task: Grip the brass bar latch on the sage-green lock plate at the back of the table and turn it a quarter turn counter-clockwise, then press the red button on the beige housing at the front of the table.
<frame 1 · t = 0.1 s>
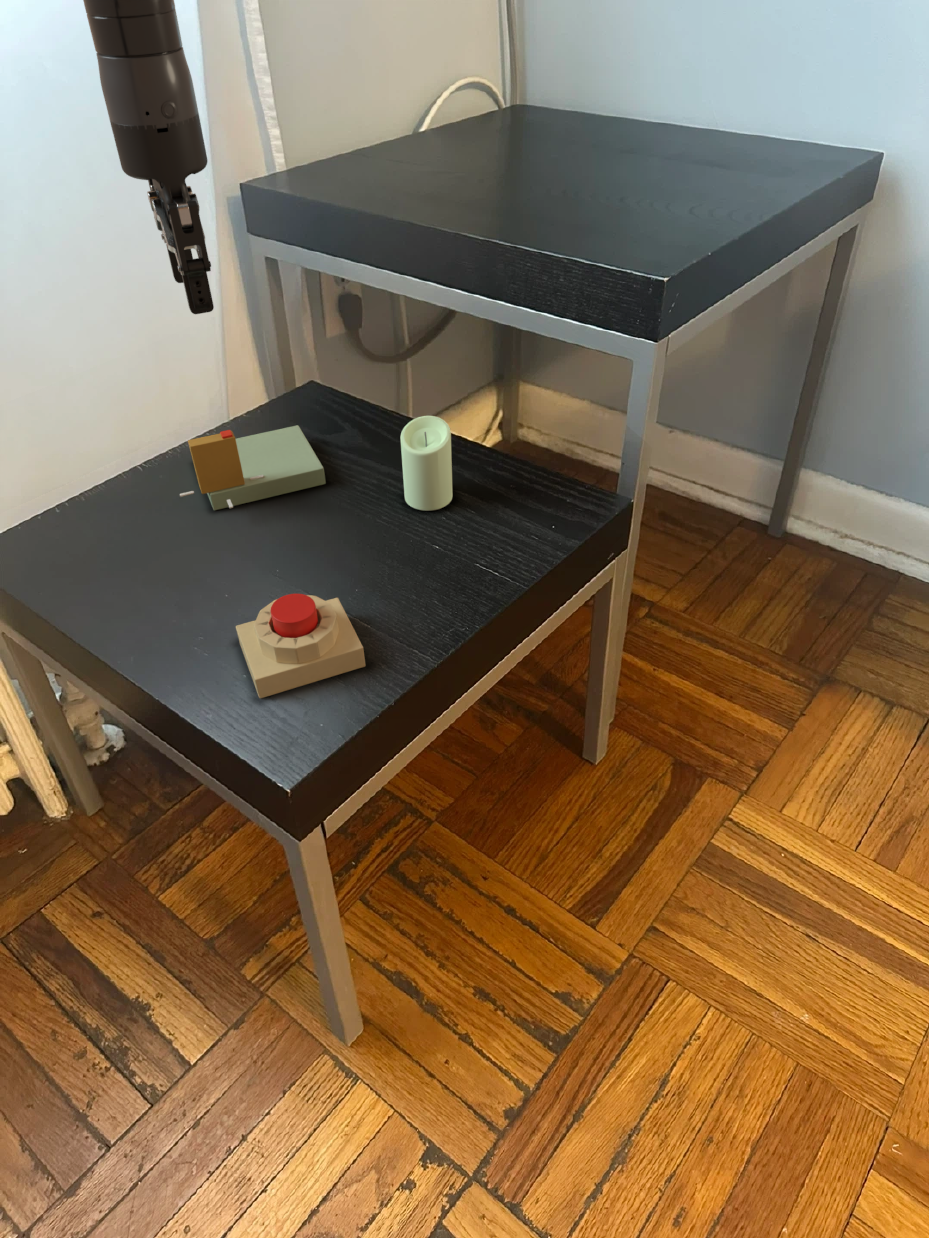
hand: (194, 296, 87), 18 cm above the table, tool pointing down, fingers open, 8 cm apart
lock plate: (259, 473, 96), on the table
button: (294, 615, 71), point 4 cm above the table, slide at 0.1 cm
button box: (302, 655, 74), on the table
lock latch: (216, 461, 88), point 5 cm above the table, hinge at 0.0°
candle: (428, 499, 92), on the table
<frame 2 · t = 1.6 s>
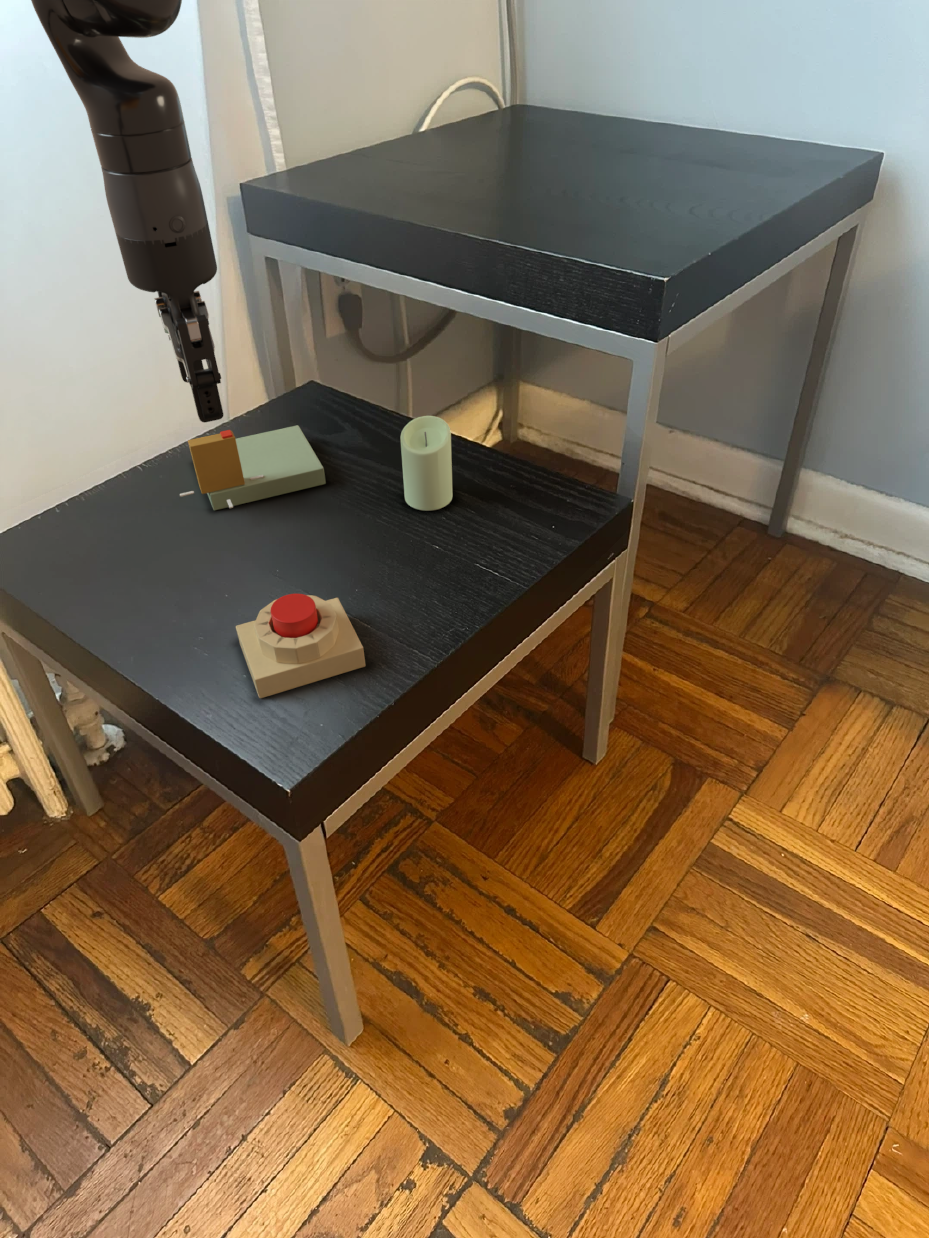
hand: (202, 399, 84), 12 cm above the table, tool pointing down, fingers open, 8 cm apart
nothing on the table moved.
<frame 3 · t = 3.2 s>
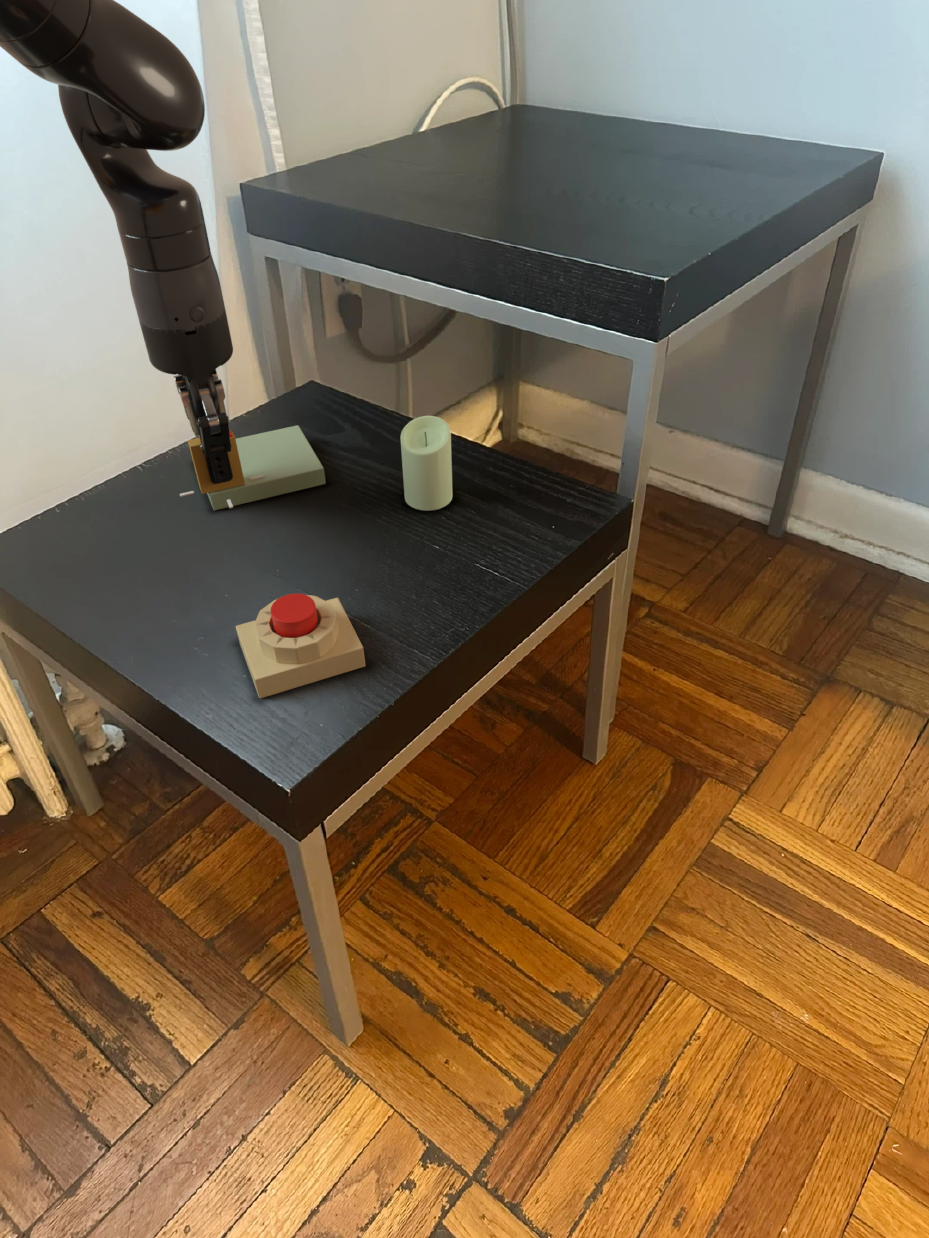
hand: (220, 475, 89), 3 cm above the table, tool pointing down, fingers closed
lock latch: (216, 461, 88), point 5 cm above the table, hinge at 0.0°, touching gripper
everything else where it was.
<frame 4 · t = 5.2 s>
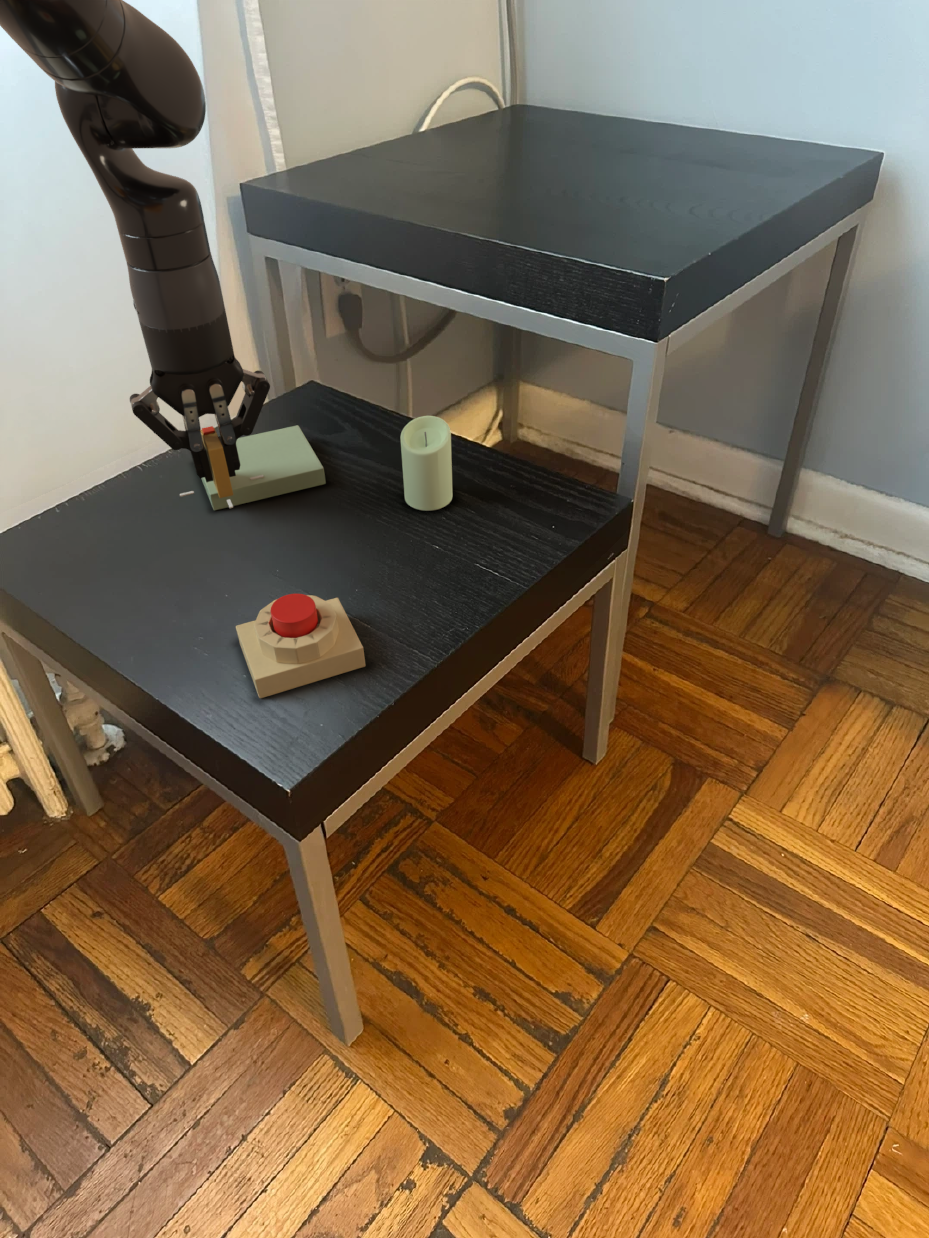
hand: (219, 474, 89), 3 cm above the table, tool pointing down, fingers closed
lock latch: (216, 461, 88), point 5 cm above the table, hinge at 89.2°
everything else where it was.
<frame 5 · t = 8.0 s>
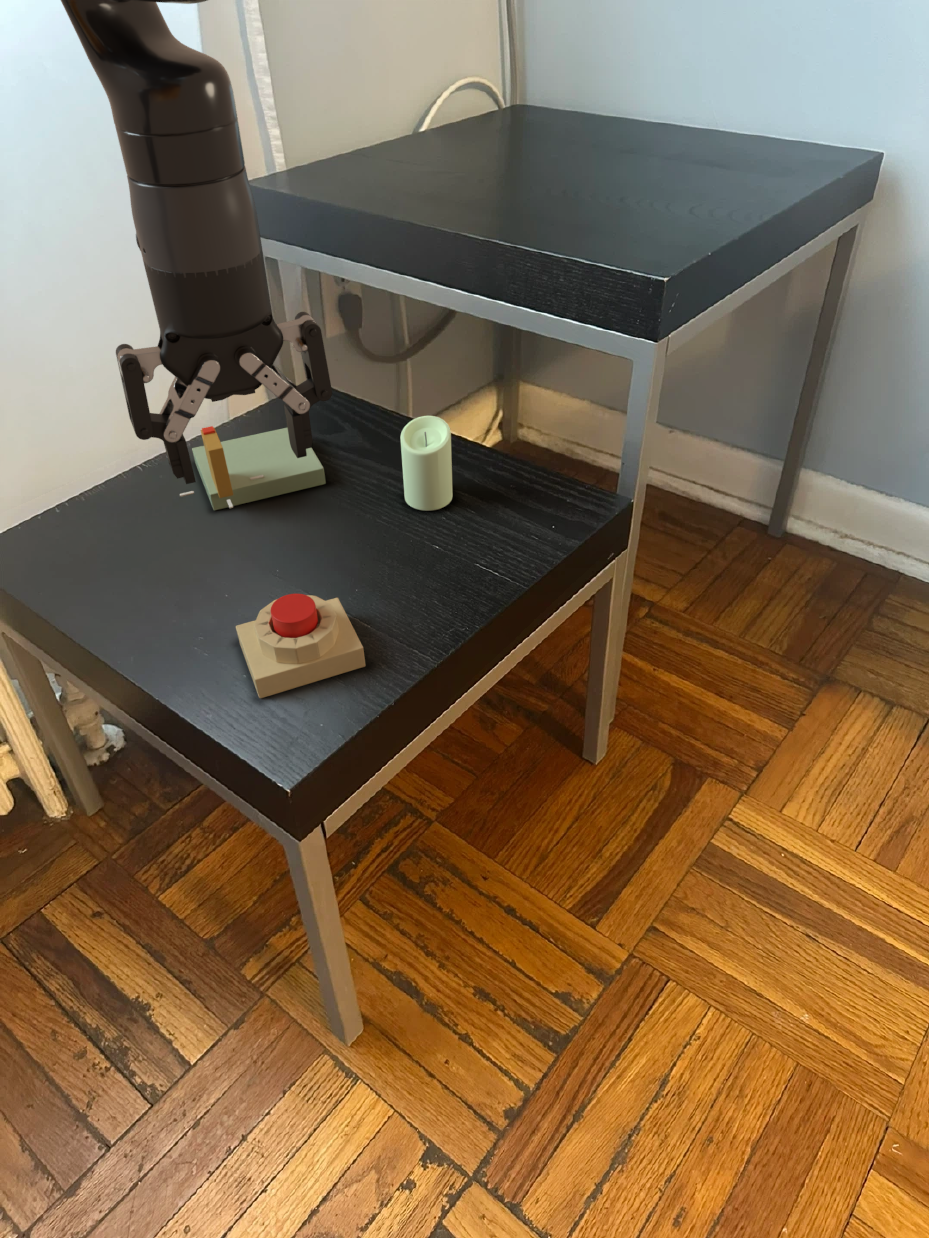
hand: (245, 465, 67), 16 cm above the table, tool pointing down, fingers open, 8 cm apart
nothing on the table moved.
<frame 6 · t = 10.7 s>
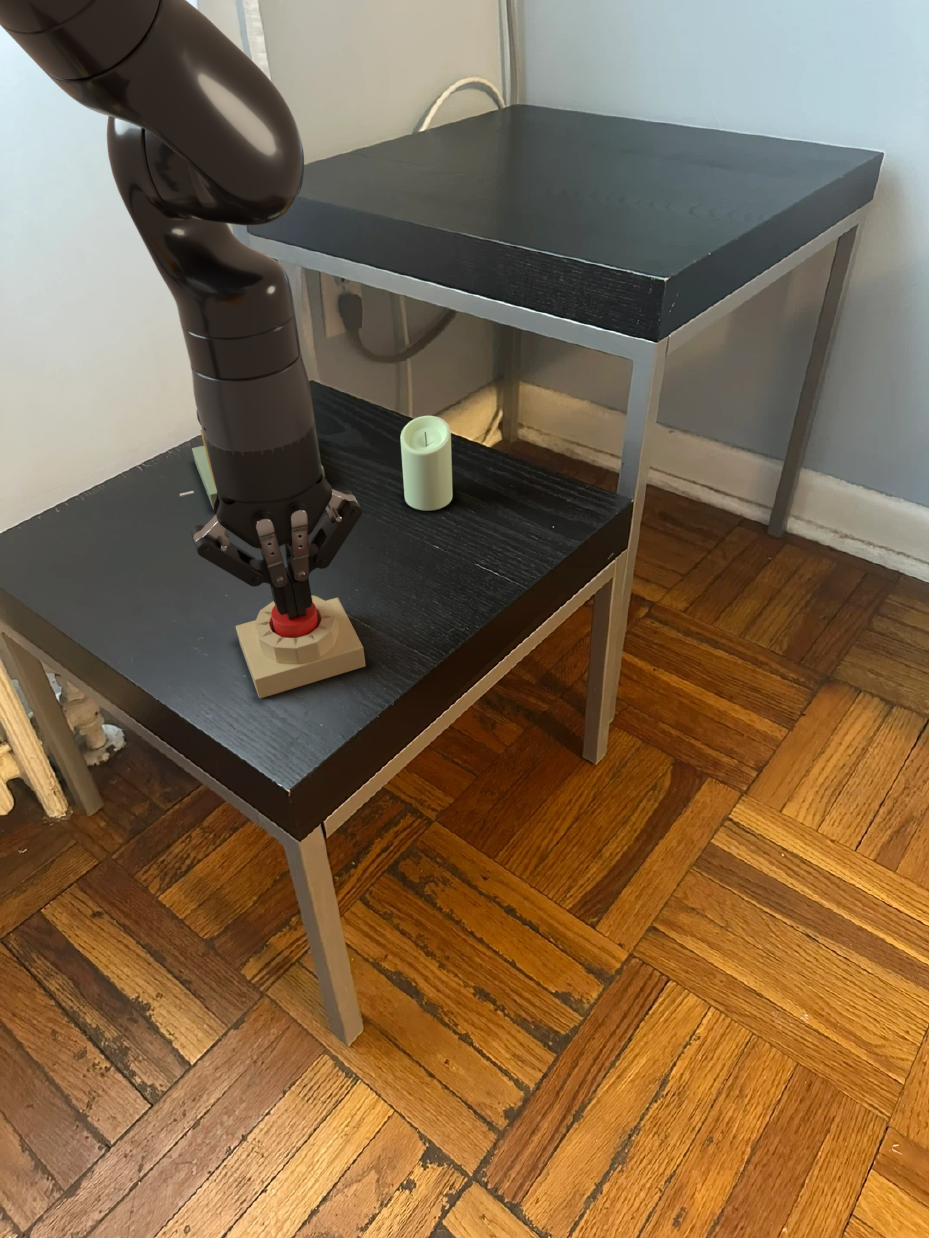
hand: (295, 611, 71), 5 cm above the table, tool pointing down, fingers closed
button: (295, 618, 72), point 4 cm above the table, slide at -0.2 cm, touching gripper
everything else where it was.
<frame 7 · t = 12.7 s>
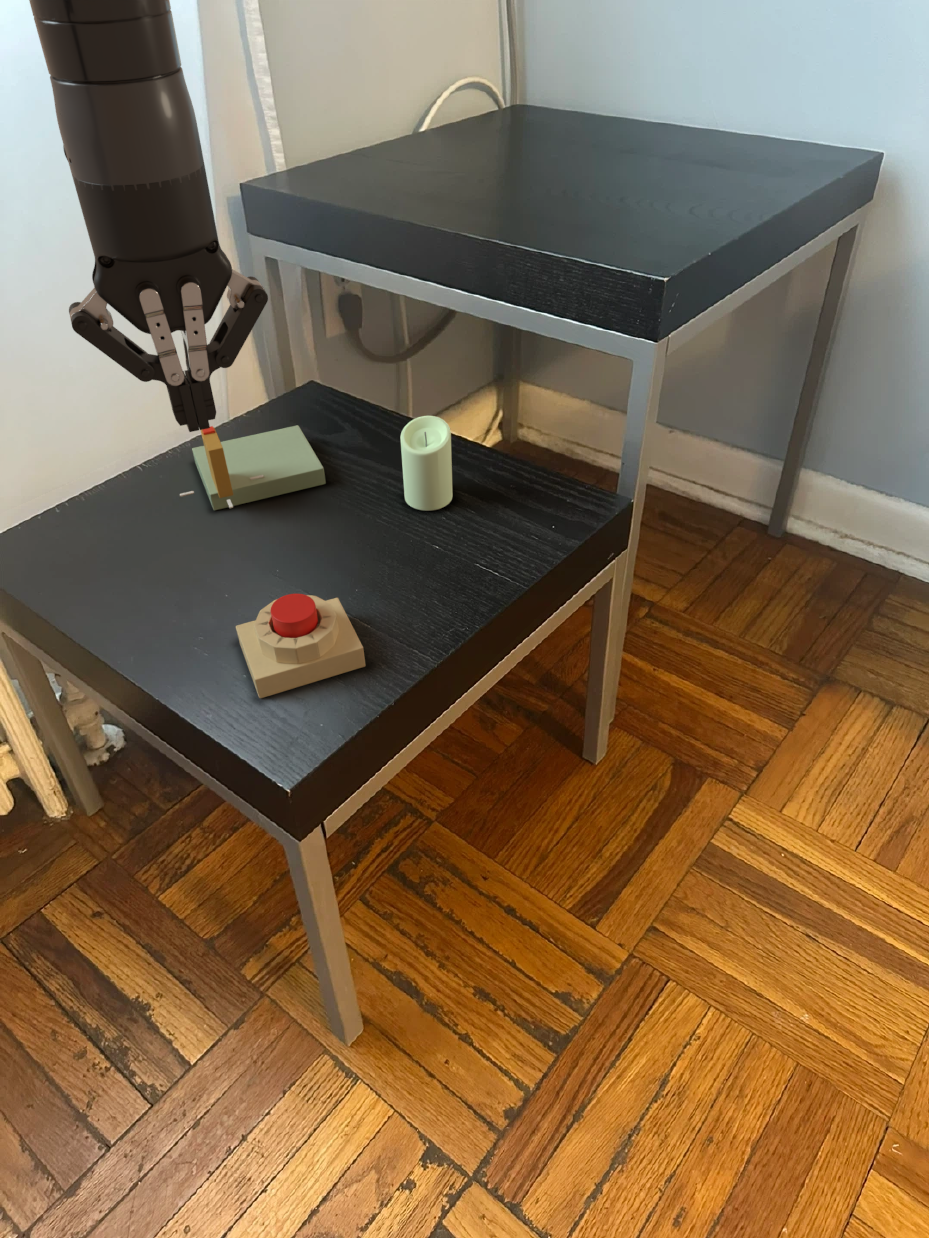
hand: (198, 425, 63), 20 cm above the table, tool pointing down, fingers closed
button: (294, 615, 71), point 4 cm above the table, slide at 0.1 cm
everything else where it was.
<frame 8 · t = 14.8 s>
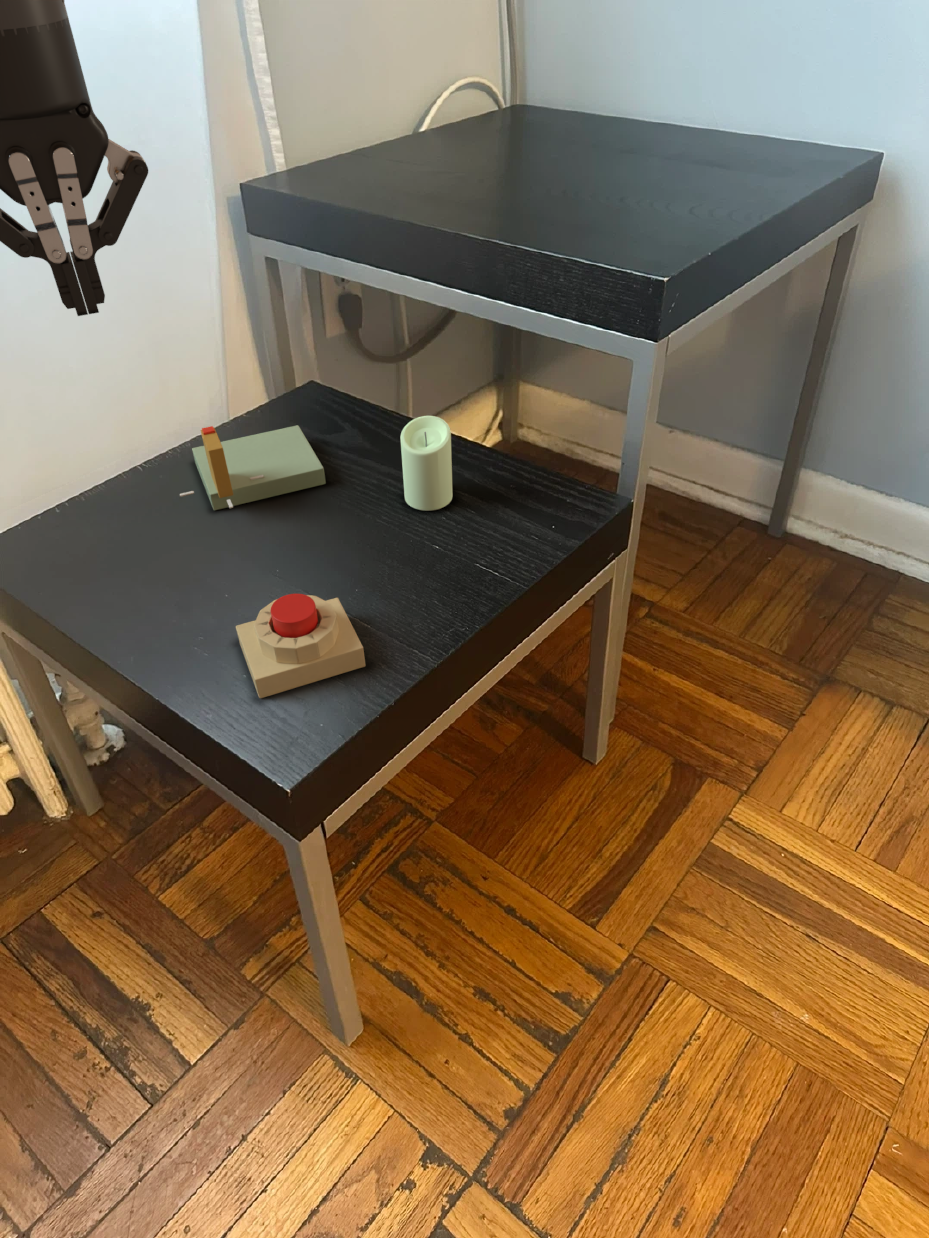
hand: (87, 310, 62), 27 cm above the table, tool pointing down, fingers closed
nothing on the table moved.
at the end: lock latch at +89° (first picture: +0°); button pushed in 1.1 cm at the most during the clip, back to where it started at the end; button slide at 0.1 cm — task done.
